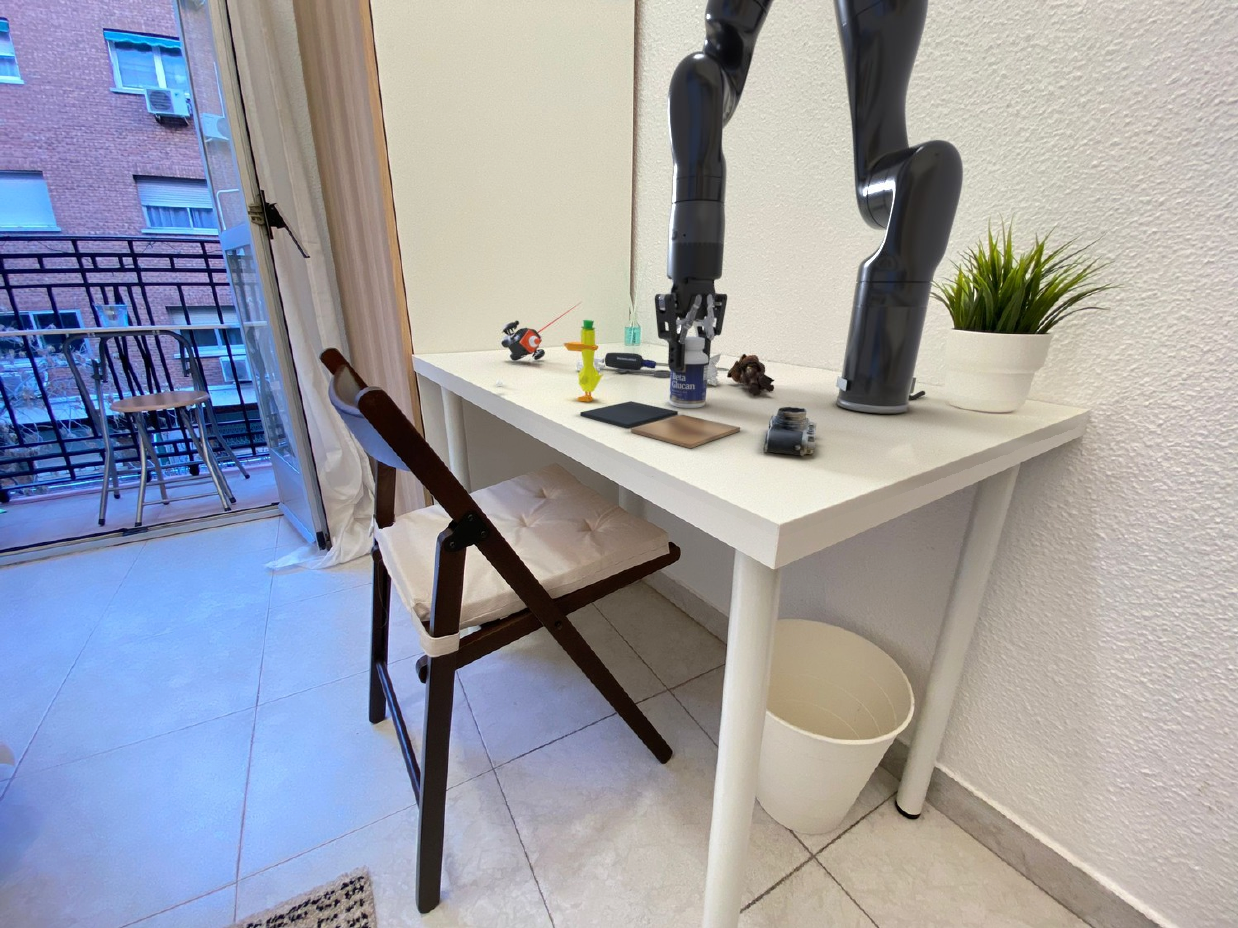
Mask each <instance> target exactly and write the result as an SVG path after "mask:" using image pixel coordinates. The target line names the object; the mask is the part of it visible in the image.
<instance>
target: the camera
mask: <svg viewBox="0 0 1238 928" xmlns="http://www.w3.org/2000/svg"><path fill="white" fill-rule="evenodd" d="M806 416H807V409H806V408H805V407H797V406H795V407H794V406H783V407H779V408H778V409H777V413H776V414H775V415H772V416H771V417H770V419H769V424H768V429H767V430H766V435H765V440H764V444H763V449H762V450H763V452H765V453H774V454H775V453H776V454H777V453H778V454H787V455H795V456H805V455H809V456H811V455H813V453H814V451H815V449H816V442H815V441H816V436H817V435H816V434H817V422H812V421H810V419H809V417H806Z"/></svg>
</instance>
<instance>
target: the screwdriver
mask: <svg viewBox="0 0 1238 928" xmlns="http://www.w3.org/2000/svg"><path fill="white" fill-rule="evenodd" d="M604 365H605V367H608V368H613V369H628V370H640V371H641V370H642V368H647V369H652V370H653V369H654V370H655V369H656V367H667V368H669V365H668V362H667V363H666V362H657V361H655V360H652V359H645V358H644V357H643V355H641V354H640V353H639V354H638V353H635V352H630V353H629V352H606V354H605V356H604ZM716 367H717V366H716ZM717 370H718V371H717V372H728V371H729V370H730V368H727V367H719V366H718V367H717Z"/></svg>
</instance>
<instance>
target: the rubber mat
mask: <svg viewBox="0 0 1238 928" xmlns="http://www.w3.org/2000/svg"><path fill="white" fill-rule="evenodd" d="M579 416H581V417H584V418H588V419H592V420H595V421H599V422H603V423H606V424H609V425H615V426H618V427H622V428H625V429H631V428H635V427H638V426H642V425H646V424H649V423H653V422H657V421H660V420H664V419H668V418H672V417H675V416H679V411H678V410H674V409H669V408H664V407H659V406H655V405H651V404H645V403H642V402H641V403H640V402H637V401H632V400H630V401H626V402H621V403H617V404H611V405H608V406H602V407H598V408H594V409H588V410H584V411H580V413H579Z"/></svg>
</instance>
